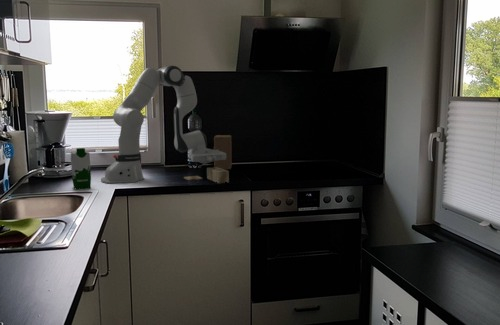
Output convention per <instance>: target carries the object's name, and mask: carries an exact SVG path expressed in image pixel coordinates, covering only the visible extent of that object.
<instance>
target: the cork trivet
mask: <svg viewBox="0 0 500 325" xmlns="http://www.w3.org/2000/svg"><path fill="white" fill-rule="evenodd" d="M183 179H185V180H187V181H196V180H203V177H201V176H199V175H191V176H190V175H189V176H183Z"/></svg>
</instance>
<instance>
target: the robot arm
mask: <svg viewBox="0 0 500 325" xmlns="http://www.w3.org/2000/svg"><path fill="white" fill-rule="evenodd" d="M159 86H161V87H172V88H174V90H175V94H176V99H177V100H176V101H177V102H176V106H175V107H174V108H173V132H174V133H173V134H174V137H173V138H174V139H173V144H174V145H173V146H174V148H175V150H176V151H178V152H180V153H185V152H188V156H187V158H188V159H190V161H191V162H192V163H197V162H198V163H201V164H205V165H206V164H208V163H214V161H218V160H226V153H224V152H222V151H219V150H218V149H214V148H208V139H207V135H206V134H205V133H204V132H203V131H201V130H199V129H198V130H194V131H191V132H187V133H183V119H184V117H185V116H187V114H189V113H190V112H191V111H193V110H194V109H195V108H196V106H197V104H198V96H197V93H196V89H195V88H196V87H195V85H194V82H193V79H192V78H191V77H190V76H188V75H185V74H184V72H183V71H182V69H181V68H180V67H178V66H176V65H165V66H161V67H159V68H157V69H156V68H154V67H147V68H145V69H144V70H143V71H142V72H141V74H140V75H139V77H138V78H137V80H136V81H135V83H134V85H133V86H132V88H131V90H130V92H129V93H128V95H127V96H126V98H125V99H124V100H123V101H122V102H121V103H120V105H119V106H118V108H117V109H115V111H114V112H113V114H112V119H113V121H114V123H115V124H116V125H117V126H118V127H120V132H119V137H118V142H117V143H118V154H116V153H114V154H113V155H112V157H113V158H114V159H115V161H114V162H113V163H111V164H110V165H108V167H106V170H105V173H104V177H101V179H100V181H101V182H102V183H103V184H118V183H119V184H120V183H121V184H123V183H137V182H138V181H141V180H144V175H143V169H142V164H141V163H142V155H141V152H140V151H141V150H140V149H141V148H140V146H141V144H140V138H141V137H140V136H141V131H142V130H141V129H142V127H143V126H142V125H143V123H144V122H145V121H144V120H145V117H144V115H143V113H142V111H143V109H144V108H145V107H147V105H149V102H150V101H151V99H152V97H153V96H154V94H155V92H156V90H157V88H158V87H159Z"/></svg>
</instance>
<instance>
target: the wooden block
mask: <svg viewBox="0 0 500 325" xmlns="http://www.w3.org/2000/svg"><path fill="white" fill-rule="evenodd" d="M232 140H233V139H232V135H230V134H227V135H225V134H224V135H223V134H222V135H221V134H217V135H215V136H214V137H213V145H214V146H213V147H214V148H213V149H218V150H219V151H222V152H224V153H226V160H218V161H213V164H214V166H213V167H218V168H221V169H224V170H231V169H232V167H233V166H232V165H233V164H232V160H233V159H232V154H233V153H232V149H233V148H232V144H233V143H232Z"/></svg>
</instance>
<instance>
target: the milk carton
mask: <svg viewBox="0 0 500 325" xmlns="http://www.w3.org/2000/svg"><path fill="white" fill-rule="evenodd" d="M90 154H91V153H90V152H89V151H86V148H84V147H81V148H80V147H79V148H77V147H76V151H71V152H70V167H71V179H72V185H73V188H74V189H75V190H86V189H91V187H92V186H91V185H92V184H91V183H92V172H91V171H92V170H91V157H90V156H91V155H90Z"/></svg>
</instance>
